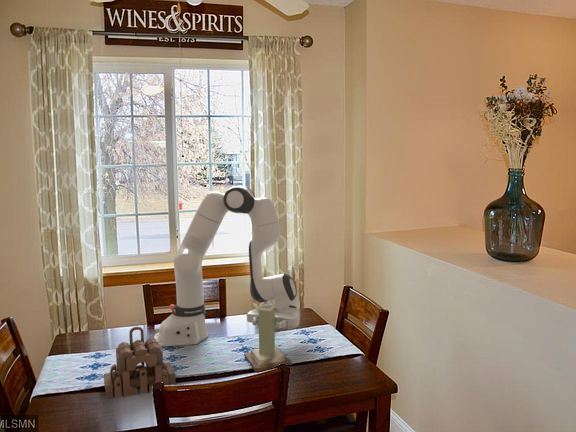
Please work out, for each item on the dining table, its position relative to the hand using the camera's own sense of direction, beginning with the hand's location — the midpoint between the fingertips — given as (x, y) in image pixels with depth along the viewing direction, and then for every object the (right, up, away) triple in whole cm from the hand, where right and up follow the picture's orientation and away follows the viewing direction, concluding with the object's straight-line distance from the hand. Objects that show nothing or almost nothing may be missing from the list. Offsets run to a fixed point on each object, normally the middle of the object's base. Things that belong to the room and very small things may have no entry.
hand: (266, 324), depth 182 cm
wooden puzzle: (-42, -17, -15) cm, 48 cm away
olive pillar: (0, -11, +2) cm, 11 cm away
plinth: (0, -14, +3) cm, 14 cm away
